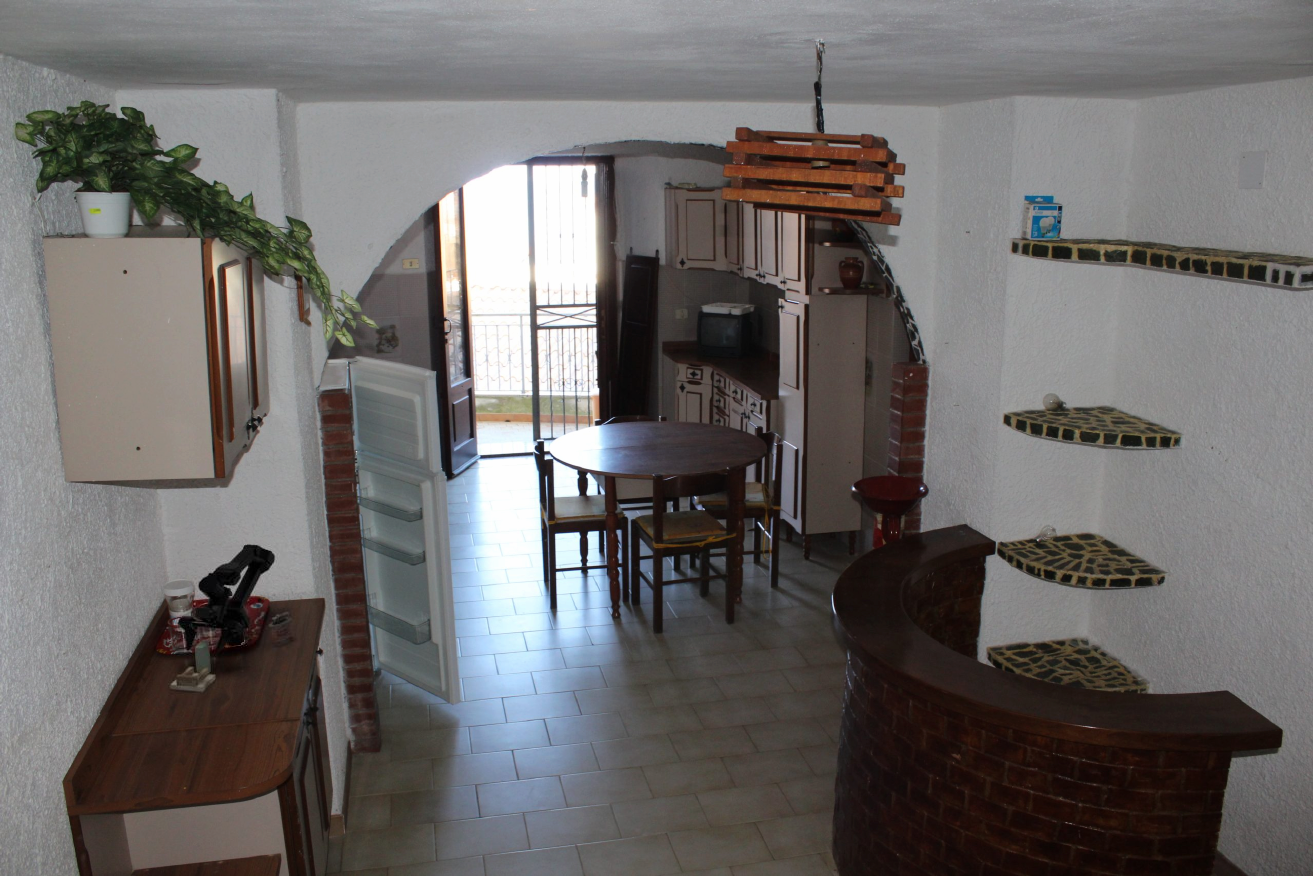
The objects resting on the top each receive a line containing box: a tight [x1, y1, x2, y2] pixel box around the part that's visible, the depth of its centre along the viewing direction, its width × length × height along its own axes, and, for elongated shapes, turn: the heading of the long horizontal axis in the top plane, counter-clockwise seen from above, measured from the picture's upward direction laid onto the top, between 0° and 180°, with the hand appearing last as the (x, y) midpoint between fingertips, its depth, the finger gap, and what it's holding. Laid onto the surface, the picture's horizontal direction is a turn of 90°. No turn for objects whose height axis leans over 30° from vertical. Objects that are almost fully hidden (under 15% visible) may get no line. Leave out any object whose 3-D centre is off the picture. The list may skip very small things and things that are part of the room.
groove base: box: [169, 666, 216, 693], centre depth 309 cm, size 8×10×4 cm
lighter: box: [268, 611, 293, 648], centre depth 338 cm, size 8×3×10 cm, turn 146°
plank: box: [194, 641, 212, 673], centre depth 315 cm, size 4×2×10 cm, turn 176°
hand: (202, 651), depth 314 cm, fingers open, 9 cm apart
